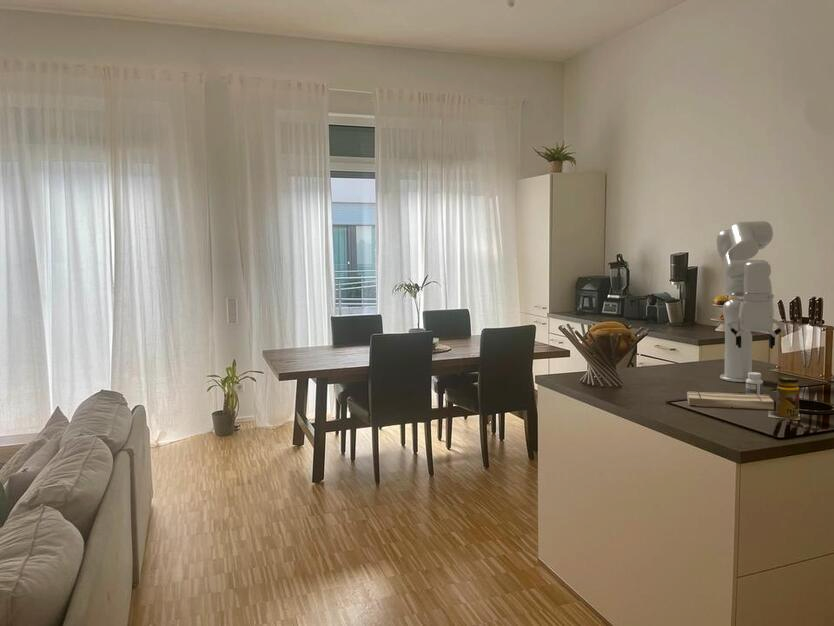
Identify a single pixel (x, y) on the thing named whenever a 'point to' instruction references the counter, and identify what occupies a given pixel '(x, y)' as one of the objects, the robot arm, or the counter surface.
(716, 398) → the plank
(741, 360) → the robot arm
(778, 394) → the condiment
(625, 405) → the counter surface
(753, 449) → the counter surface
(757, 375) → the pill bottle
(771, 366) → the counter surface
